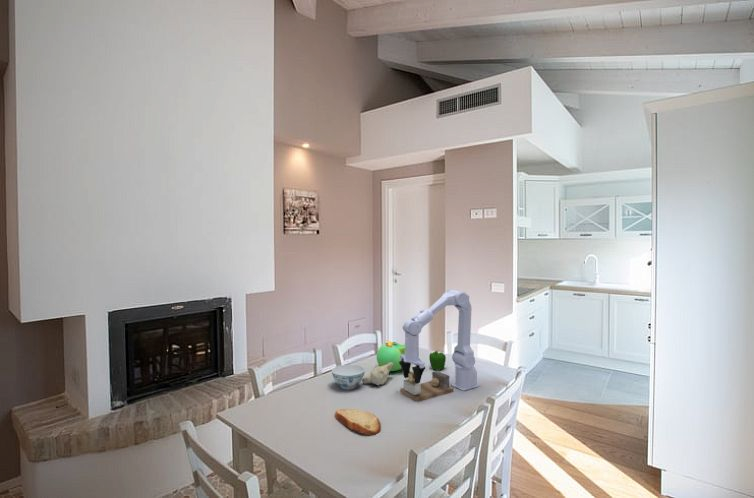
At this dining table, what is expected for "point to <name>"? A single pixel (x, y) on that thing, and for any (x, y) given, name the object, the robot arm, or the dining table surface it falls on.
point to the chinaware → (348, 375)
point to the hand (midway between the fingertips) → (412, 380)
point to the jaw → (412, 385)
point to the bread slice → (359, 421)
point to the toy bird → (390, 354)
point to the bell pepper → (437, 360)
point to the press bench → (432, 387)
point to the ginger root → (378, 374)
